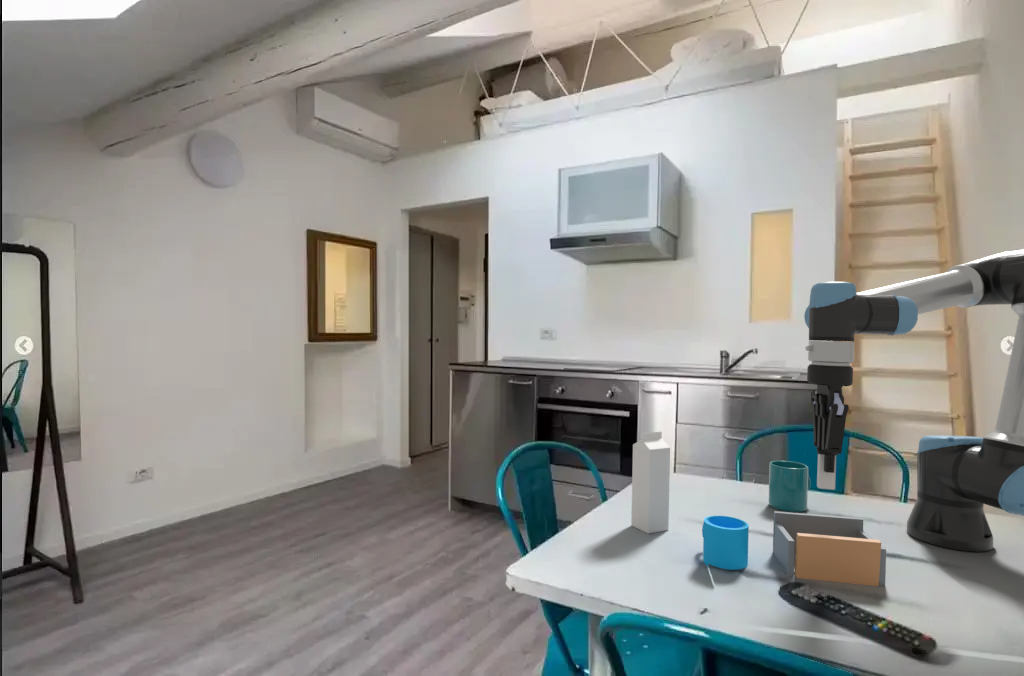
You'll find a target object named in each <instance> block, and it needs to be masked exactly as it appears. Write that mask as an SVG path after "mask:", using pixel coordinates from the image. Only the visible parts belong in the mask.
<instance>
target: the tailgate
mask: <svg viewBox="0 0 1024 676" xmlns="http://www.w3.org/2000/svg"><path fill="white" fill-rule="evenodd" d="M881 545H882V542H881V541H880V539H874V538H873V539H863V538H851V537H840V536H828V535H817V534H805V533H797V538H796V557H795V574H794V577H795V578H796V579H804V580H814V581H815V580H816V581H822V582H823V581H824V582H826V581H827V582H833V583H841V584H842V583H844V584H855V585H864V586H874V587H879V586H880V585H879V572H880V557H881Z"/></svg>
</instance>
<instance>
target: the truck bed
mask: <svg viewBox="0 0 1024 676" xmlns="http://www.w3.org/2000/svg"><path fill="white" fill-rule="evenodd" d="M797 533H805V534H817V535H828V536H840V537H851V538H863V539H874V537H872V536H871V535H870V534H869V533H867V532H866V531H865V530H864V519H863V518H862V517H853V516H852V517H851V516H839V515H838V516H837V515H827V514H815V513H813V514H812V513H802V512H787V511H778V510H777V511H775V510H774V511H773V535H772V554H773V555H774V557H775V558H776V560H777V562H779V564H780V566H781V567H782V570H784V572H785V573H786V575H787V576H788V577H795V557H796V538H797ZM886 564H887V549H886V548H885V547H884V546H883V545H882V544H881V557H880V572H879V586H886V573H887V572H886V571H887V565H886Z"/></svg>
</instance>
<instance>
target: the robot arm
mask: <svg viewBox="0 0 1024 676" xmlns="http://www.w3.org/2000/svg"><path fill="white" fill-rule="evenodd" d="M809 294H810V296H809V303H808V306H807V307H806V309H805V311H804V314H803V316H804V323H805V325H806V327H807V328H808V345H806V346H805V347H804V348H805V351H807V355H808V358H807V360H808V362H811V363H810V364H808V365H807V371H806V373H807V375H806V377H807V378H806V381H807V383H809V384H811V385H817V386H816V387H817V388H816V391H815V393H814V396H811V397H810V401H811V408H812V428H813V431H812V432H813V446H814V447H816V452H817V465H816V466H817V467H816V468H817V469H816V470H817V472H816V473H817V474H816V487H817V488H818V489H821V490H832V491H833V490H834V491H835V490H836V474H837V473H836V472H837V456H838V455H841V454H842V451H843V450H842V449H843V444H844V443H843V442H844V435H845V429H846V422H847V421H846V420H847V415H848V412H849V408H850V407H849V404H845V397H844V394H843V389H842V388H843V387H850V386H852V385H853V384H854V383H853V382H854V380H853V379H854V367H853V366H852V365H851V364H853V363H854V362H855V335H887V336H894V335H896V336H897V335H906V334H907V333H909V332H911V331H912V330H913V329H914V328H915V327H916V325H917V322H918V321H919V320H918V317H919V315H922V314H927V313H929V312H933V311H938V310H943V309H947V308H952V307H959V308H963V309H964V308H965V309H967V308H971V307H977V306H984V305H985V306H986V305H987V306H988V305H990V306H991V305H1010V308H1011V310H1012V311H1013V312H1015V314H1016V315H1017V317H1018V320H1017V325H1016V329H1015V333H1014V339H1013V344H1012V349H1011V352H1010V357H1009V362H1008V368H1007V372H1006V376H1005V381H1004V386H1003V391H1002V395H1001V399H1000V404H999V405H1000V406H999V409H998V413H997V414H998V415H997V419H996V424H995V427H994V428H995V429H994V430H993V431H992V432H989V433H988V434H987V435H984V436H983V437H980V436H969V435H968V436H967V435H942V434H941V435H938V434H937V435H925V436H924V435H923V436H922V437H921V438H920V439H919V442H918V451H917V452H916V454H917V460H916V461H917V464H916V465H917V467H916V468H917V473H916V474H917V477H916V479H917V484H916V486H917V489H916V490H917V491H916V492H917V493H916V501H915V503H914V505H913V507H912V509H911V512H910V514H909V516H908V519H907V521H906V533H907V534H909V535H910V536H911V537H913V538H914V539H917V540H919V541H922V542H924V543H927V544H929V545H933V546H937V547H941V548H946V549H952V550H958V551H964V552H988V551H991V550H993V549H994V536H993V533H992V530H991V527H990V523H989V522H988V518H987V516H986V513H985V511H984V510H985V509H984V505H987V506H989V507H993V508H995V509H999V510H1002V511H1004V512H1006V513H1008V514H1012V515H1016V516H1023V517H1024V248H1019V249H1012V250H1005V251H1003V252H999V253H995V254H992V255H988V256H985V257H982V258H979V259H975V260H972V261H969V262H965V263H963V264H958V265H957V264H956V265H954V266H951V267H950V268H948V269H947V270H946V272H943V273H938V274H935V275H934V274H933V275H930V276H926V277H921V278H917V279H912V280H908V281H904V282H900V283H893V284H891V285H890V284H889V285H886V286H882V287H877V288H874V289H868V290H864V291H860V292H857V288H856V284H855V283H853V282H848V281H825V282H824V281H823V282H818V283H815V284H813V285H812V286H811V289H810V293H809Z"/></svg>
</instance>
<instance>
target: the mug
mask: <svg viewBox="0 0 1024 676" xmlns="http://www.w3.org/2000/svg"><path fill="white" fill-rule="evenodd" d="M701 533H702V537H703V542H702V544H703V551H702V563H704V565H705V566H707V567H708V568H709V567H710V565H711V566H714V567H716V568H719V569H722V570H723V569H724V570H725V569H726V570H734V571H735V570H743V569H746V568H748V565H749V533H750V531H749V523H747V522H746V521H745V520H743V519H741V518H737V517H733V516H730V515H709V516H705V517H704V518H703V523H702V527H701Z"/></svg>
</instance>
